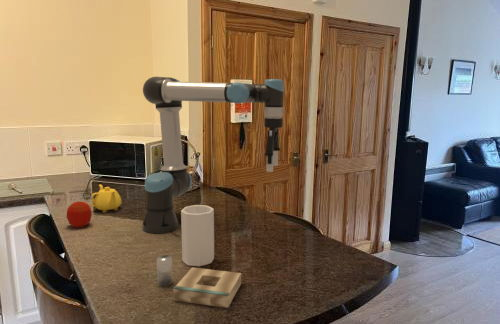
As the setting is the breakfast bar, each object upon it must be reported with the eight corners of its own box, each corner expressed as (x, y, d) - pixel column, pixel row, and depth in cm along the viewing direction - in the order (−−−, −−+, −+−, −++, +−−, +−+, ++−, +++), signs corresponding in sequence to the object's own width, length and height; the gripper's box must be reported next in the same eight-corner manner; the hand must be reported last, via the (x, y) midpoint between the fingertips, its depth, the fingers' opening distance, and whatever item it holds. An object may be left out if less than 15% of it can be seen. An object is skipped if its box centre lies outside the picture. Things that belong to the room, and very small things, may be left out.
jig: (173, 300, 108) (173, 287, 107) (192, 277, 121) (192, 266, 121) (227, 307, 104) (227, 295, 104) (241, 283, 118) (241, 272, 117)
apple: (96, 225, 168) (95, 200, 166) (73, 231, 161) (71, 205, 159) (86, 220, 175) (84, 196, 173) (63, 225, 168) (61, 200, 166)
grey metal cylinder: (154, 285, 117) (153, 260, 115) (161, 278, 121) (160, 254, 120) (168, 286, 115) (167, 262, 114) (175, 279, 120) (174, 255, 118)
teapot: (84, 207, 195) (83, 186, 193) (113, 202, 204) (112, 181, 202) (98, 217, 180) (96, 193, 178) (128, 211, 189) (127, 189, 187)
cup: (200, 269, 127) (199, 216, 124) (175, 261, 133) (174, 210, 130) (220, 257, 136) (220, 207, 133) (196, 251, 142) (195, 203, 139)
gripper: (278, 119, 144) (276, 174, 148) (286, 116, 168) (285, 163, 172) (258, 119, 145) (257, 173, 149) (269, 115, 169) (268, 162, 173)
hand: (272, 168), depth 160 cm, fingers open, 13 cm apart
